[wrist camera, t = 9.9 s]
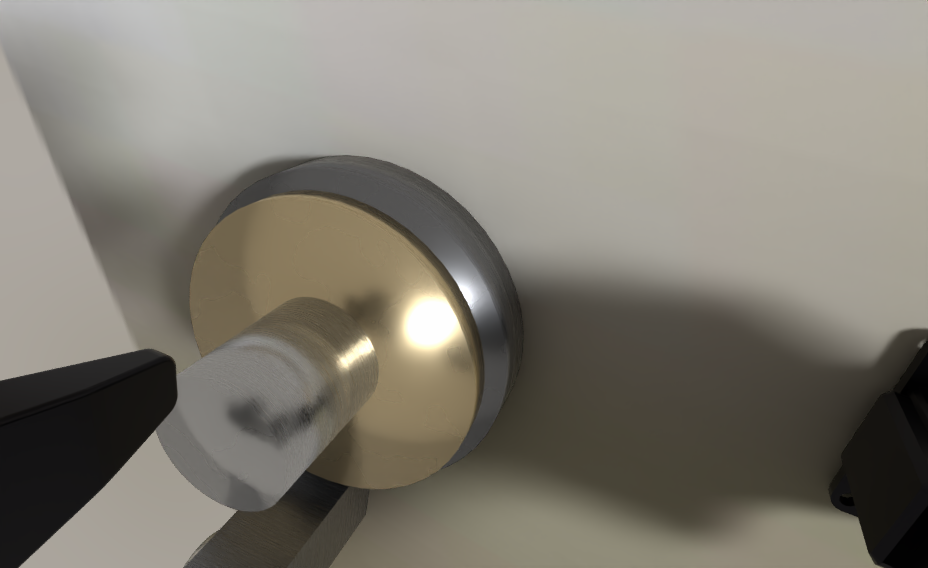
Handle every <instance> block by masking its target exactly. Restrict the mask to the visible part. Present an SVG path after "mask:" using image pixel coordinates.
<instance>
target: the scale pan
mask: <svg viewBox="0 0 928 568" xmlns="http://www.w3.org/2000/svg"><path fill="white" fill-rule="evenodd" d="M297 297H313V298H318V299H322V300H325V301H327V302H330V303H332V304H334V305H336V306H337V307H339V308H341V309H342V310H344V311H345V312H346V313H348V314H349V315H350V316H351V317H352V318H353V319H354V320H355V321H356V322H357V323H358V324H359V325H360V326H361V327H362V329H363V330H364V331H365V333H366V334H367V336H368V338H369V339H370V341H371V343H372V345H373V347H374V350H375V353H376V356H377V360H378V367H379V378H378V383H377V386H376V389H375V391H374V393H373V395H372V396H371V397H370V398H369V400H368V401H367V402H366V403H365V404H364V405H363V406H362V407H361V409H360V410H359V411H358V412H357V413H356V414H355V415H354V416H353V417H352V419H351V420H350V421H349V422H348V423H347V424H346V425H345V426H344V428H343V429H342V430H341V431H340V432H339V433H338V434H337V435H336V437H335V438H334V439H333V440H332V441H331V442H330V443H329V444H328V446H327V447H326V448H325V449H324V450H323V451H322V452H321V453H320V455H319V456H318V457H317V458H316V459H315V460H314V461H313V462H312V463H311V465H310V466H309V467H308V468H307V469H306V471H308V472H310V473H312V474H314V475H317V476H319V477H322V478H324V479H327V480H329V481H333V482H336V483H339V484H343V485H347V486H352V487H358V488H366V489H389V488H397V487H402V486H407V485H410V484H413V483H416V482H418V481H421V480H423V479H425V478H427V477H428V476H430V475H432V474H434V473H435V472H437V471H438V470H439V469H440V468H441V467H443V466H444V465H445V464H446V463H447V462H448V461H449V460H450V459H451V458H452V456H453V455H454V454H455V453H456V451H457V450H458V449H459V447H460V445H461V443H462V442H463V440H464V438H465V437H466V435H467V433H468V431H469V430H470V428H471V426H472V424H473V422H474V420H475V419H476V416H477V413H478V410H479V407H480V405H481V402H482V396H483V390H484V382H485V363H484V356H483V348H482V343H481V339H480V335H479V332H478V328H477V324H476V322H475V319H474V317H473V314H472V312H471V309H470V307H469V305H468V302H467V301H466V299H465V297H464V295H463V293H462V292H461V290H460V288H459V286H458V284H457V283H456V281H455V280H454V278H453V277H452V276H451V274H450V273H449V271H448V270H447V269H446V267H445V266H444V264H443V263H442V262H441V261H440V260H439V259H438V258H437V256H436V255H435V254H434V253H433V252H432V251H431V250H430V249H429V247H428V246H427V245H425V244H424V243H423V242H422V241H421V240H420V239H419V238H418V237H417V236H415V235H414V234H413V233H412V232H411V231H410V230H409V229H407V228H406V227H404V226H403V225H402V224H400V223H399V222H397V221H396V220H395V219H393V218H392V217H390V216H388V215H387V214H385V213H383V212H381V211H379V210H378V209H376V208H374V207H372V206H370V205H368V204H365V203H363V202H360V201H358V200H355V199H353V198H350V197H346V196H342V195H339V194H335V193H331V192H323V191H314V190H300V191H288V192H284V193H279V194H274V195H272V196H269V197H267V198H264V199H262V200H259V201H257V202H254V203H252V204H249V205H247V206H245V207H242V208H240V209H238V210H236V211H235V212H233V213H231V214H230V215H228V216H227V217H225V218H224V219H223V220H222V221H221V222H220V223H219V224H217V225H216V226H215V227H214V228H213V229H212V231H211V232H210V233H209V235H208V236H207V237H206V239H205V240H204V242H203V244H202V246H201V248H200V250H199V252H198V254H197V256H196V259H195V263H194V266H193V269H192V274H191V281H190V313H191V322H192V326H193V330H194V335H195V339H196V342H197V345H198V348H199V351H200V354H201V356H202V358H203V357H204V356H206V355H207V354H209V353H210V352H212V351H213V350H215V349H216V348H217V347H219V346H220V345H222V344H223V343H225V342H226V341H228V340H229V339H231V338H232V337H234V336H235V335H237V334H238V333H240V332H241V331H243V330H244V329H246V328H247V327H249V326H250V325H252V324H253V323H254V322H256V321H257V320H259V319H260V318H262V317H263V316H265V315H266V314H268V313H269V312H271V311H272V310H274V309H275V308H277V307H278V306H280V305H281V304H283V303H284V302H286V301H288V300H290V299H293V298H297Z"/></svg>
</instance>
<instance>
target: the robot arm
mask: <svg viewBox="0 0 928 568" xmlns="http://www.w3.org/2000/svg"><path fill="white" fill-rule="evenodd" d="M177 398H178V390H177V376H176V364H175V361H174V359H173V358H172V357H170V356H168V355H166V354H164V353H162V352H159V351H157V350H154V349H143V350H139V351H135V352H130V353H126V354H121V355H116V356H112V357H107V358H102V359H98V360H93V361H89V362H84V363H80V364H76V365H70V366H66V367H62V368H57V369H52V370H48V371H43V372H38V373H34V374H29V375H25V376H20V377H16V378H11V379H6V380H2V381H0V568H19V567H20V566H21V564H23V563H24V562H25V561H26V560H27V559H28V558H29V557H30V556H31V555H32V554H33V553H35V551H37V550H38V549H39V548H40V547H41V546H42V545H43V544H44V543H45V542H46V541H47V540H48V539H49V538H51V536H53V535H54V534H55V533H56V532H57V531H58V530H59V529H60V528H61V527H62V526H63V525H64V524H65V523H66V522H67V521H69V520H70V519H71V518H72V517H73V516H74V515H75V514H76V513H77V512H78V511H79V510H80V509H81V508H82V507H84V506H85V504H87V503H88V502H89V501H90V500H91V499H92V498H93V497H94V496H95V495H96V494H97V493H98V492H99V491H100V490H101V489H102V488H103V487H104V486H105V485H106V484H107V483H108V482H109V481H110V480H111V479H112V478H113V477H114V475H115V474H116V473H117V472H118V471H119V470H120V469H121V468H122V467H123V466H124V464H125V463H126V462H127V461H128V460H129V459H130V458H131V457H132V455H133V454H134V453H135V452H136V451H137V449H139V447H140V446H141V445H142V444H143V443H144V442H145V441H146V440H147V439H148V437H149V436H150V435H151V434H152V433H153V432H154V431H155V430H156V428H157V427H158V426H159V425H160V424H161V423H162V422H163V421H164V419H165V418H166V417H167V416H168V415H169V414H170V413H171V411H172V410H173V408H174V407H175V405H176V402H177ZM841 458H842V462H843V466H842V467H841V469H840V470H839V472H838V473H837V475H836V476H835V478H834V479H833V481H832V482H831V484H830V486H829V489H828V490H829V494H830V498H831V502H832V504H833V505H834V506H835V507H836V508H837V509H839V510H841V511H843V512H846V513H848V514H851V515H854V516H856V517H858V518H859V522H860V525H861V529H862V532H863V536H864V539H865V543H866V546H867V550H868V553H869V555H870V556H871V558H872V560H873V562H874V564H875V565H877V566H880V567H882V568H928V341H927V342H926V343H925V344H924V345H923V346H922V348H921V349H920V351H919V352H918V354H917V355H916V357H915V358H914V360H913V361H912V363H911V364H910V366H909V367H908V369H907V370H906V372H905V373H904V375H903V376H902V378H901V379H900V381H899V382H898V384H897V385H896V387H895V388H894V390H893V391H889V392H887V393H885V394H882V395H881V396H880V397H879V398H878V400H877V401H876V403H875V404H874V406H873V408H872V409H871V411H870V412H869V414H868V415H867V417H866V418H865V420H864V421H863V423H862V424H861V426H860V427H859V429H858V430H857V432H856V433H855V435H854V436H853V438H852V439H851V441H850V442H849V444H848V445H847V447H846V448H845V450H844V451H843V453H842V455H841ZM846 493H850V494H852V497H848V498H847V497H843V496H841V495H843V494H846Z"/></svg>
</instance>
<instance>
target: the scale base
mask: <svg viewBox="0 0 928 568" xmlns="http://www.w3.org/2000/svg"><path fill="white" fill-rule="evenodd" d="M300 190H314V191H323V192H331V193H335V194H339V195H342V196H346V197H350V198H353V199H355V200H358V201H360V202H363V203H365V204H368V205H370V206H372V207H374V208H376V209H378V210H379V211H381V212H383V213H385V214H387V215H388V216H390V217H392V218H393V219H395V220H396V221H397V222H399V223H400V224H402V225H403V226H404V227H406V228H407V229H409V230H410V231H411V232H412V233H413V234H414V235H415V236H417V237H418V238H419V239H420V240H421V241H422V242H423V243H424V244H425V245H427V246H428V247H429V249H430V250H431V251H432V252H433V253H434V254H435V255H436V256H437V258H438V259H439V260H440V261H441V262H442V263H443V264H444V266H445V267H446V269H447V270H448V271H449V273H450V274H451V276H452V277H453V278H454V280H455V281H456V283H457V284H458V286H459V288H460V290H461V292H462V293H463V295H464V297H465V299H466V301H467V302H468V305H469V307H470V309H471V312H472V314H473V317H474V319H475V322H476V324H477V328H478V332H479V335H480V339H481V343H482V348H483V356H484V363H485V382H484V390H483V396H482V402H481V405H480V407H479V410H478V413H477V416H476V419H475V420H474V422H473V424H472V426H471V428H470V430H469V431H468V433H467V435H466V437H465V438H464V440H463V442H462V443H461V445H460V447H459V449H458V450H457V451H456V453H455V454H454V455H453V456H452V458H451V459H450V460H449V461H448V462H447V463H446V464H445V465H444V466H443V467H441V468H440V469H442V468H445V467H448V466H450V465H452V464H453V463H455V462H457V461H458V460H460V459H462V458H464V457H465V456H466V455H467V454H468V453H469V452H471V451H472V450H473V449H474V448H475V447H476V446H477V445H478V444H479V443H480V442H481V440H482V439H483V438H484V437H485V436H486V434H487V433H488V431H489V430H490V428H491V426H492V424H493V422H494V421H495V419H496V417H497V415H498V413H499V412H500V410H501V408H502V406H503V404H504V402H505V400H506V398H507V397H508V395H509V393H510V391H511V389H512V387H513V385H514V382H515V379H516V377H517V374H518V371H519V367H520V361H521V356H522V349H523V326H522V316H521V309H520V305H519V301H518V297H517V293H516V289H515V286H514V284H513V281H512V279H511V276H510V273H509V271H508V268H507V267H506V265H505V263H504V261H503V259H502V257H501V255H500V253H499V251H498V250H497V248H496V246H495V245H494V244H493V242H492V241H491V239H490V238H489V236H488V235H487V233H486V232H485V231H484V229H483V228H482V227H481V226H480V224H479V223H478V222H477V221H476V220H475V219H474V218H473V217H472V215H471V214H470V213H469V212H468V211H467V210H466V209H465V208H464V207H463V206H462V205H460V204H459V203H458V202H457V201H456V200H455V199H454V198H453V197H452V196H450V195H449V194H448V193H446V192H445V191H444V190H442V189H441V188H439V187H438V186H436V185H435V184H434V183H432V182H431V181H429V180H427V179H425V178H423V177H422V176H420V175H418V174H416V173H414V172H412V171H410V170H408V169H405V168H403V167H400V166H398V165H395V164H392V163H390V162H386V161H382V160H377V159H373V158H369V157H359V156H333V157H325V158H321V159H316V160H312V161H309V162H306V163H303V164H301V165H298V166H295V167H292V168H290V169H287V170H284V171H282V172H279V173H276V174H274V175H271V176H269V177H267V178H264V179H262V180H260V181H257V182H256V183H254V184H253V185H251V186H250V187H248V188H247V189H245V190H244V191H242V192H241V193H240V194H239V195H238V196H237V197H236V198H235V199H234V200H233V201H232V202H231V203H230V204H229V206H228V207H227V208H226V210H225V211H224V213H223V214H222V215H221V217H220V219H219V221H218V223H217V224H219V223H220V222H221V221H222V220H223V219H224V218H225V217H227V216H228V215H230V214H231V213H233V212H235V211H236V210H238V209H240V208H242V207H245V206H247V205H249V204H252V203H254V202H257V201H259V200H262V199H264V198H267V197H269V196H272V195H274V194H279V193H284V192H288V191H300ZM440 469H439V470H440ZM368 494H369V489H366V488H358V487H352V486H347V485H343V484H339V483H336V482H333V481H329V480H327V479H324V478H322V477H319V476H317V475H314V474H312V473H310V472H308V471H306V470H305V471H304V472H303V474H302V475H301V476H300V477H299V478H298V479H297V480H296V481H295V483H294V484H293V485H292V486H291V487H290V488H289V489H288V490H287V492H286V493H285V494H284V495H283V496H282V497H281V498H280V499H279V500H278V502H277V503H276V504H275V505H273V506H272V507H270V508H268V509H266V510H262V511H256V512H248V511H241V510H238V511H237V512H236V513H235V514H234V515H233V516H232V517H231V518H230V519H229V520H228V521H227V523H226V524H225V525H224V526H223V527H222V528H221V529H220V530H218V531H216V532H215V533H213V534H212V535H211V536H209V537H208V538H207V539H206V540H205V541H204V542H203V543H202V544H201V545H200V546H199V547H198V548H197V549H196V551H195V552H194V553H193V554H192V556H191V557H190V558H189V560H188V561H187V563H186V564H185V566H184V567H183V568H329V567H330V565H331V564H332V562H333V561H334V560H335V558H336V557H337V555H338V554H339V552H340V551H341V549H342V548H343V547H344V545H345V544H346V542H347V541H348V539H349V538H350V536H351V535H352V534H353V532H354V531H355V529H356V528H357V526H358V525H359V523H360V522H361V521H362V519H363V518H364V516H365V515H366V508H367V501H368Z"/></svg>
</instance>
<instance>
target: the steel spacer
mask: <svg viewBox="0 0 928 568" xmlns="http://www.w3.org/2000/svg"><path fill="white" fill-rule="evenodd" d="M176 376H177V390H178V398H177V402H176V405H175V407H174V408H173V410H172V411H171V413H170V414H169V415H168V416H167V417H166V418H165V419H164V421H163V422H162V423H161V424H160V425H159V426H158V427H157V428H156V432H157V435H158V438H159V440H160V442H161V444H162V446H163V448H164V450H165V452H166V454H167V455H168V457H169V458H170V460H171V461H172V463H173V464H174V465H175V467H176V468H177V469H178V470H179V472H180V473H181V474H182V475H183V476H184V477H185V478H186V479H187V480H188V481H189V482H190V483H191V484H192V485H193V486H195V487H196V488H197V489H198V490H200V491H201V492H202V493H203V494H205V495H206V496H208V497H210V498H211V499H213V500H215V501H216V502H218V503H220V504H222V505H225V506H227V507H230V508H233V509H236V510H241V511H248V512H256V511H262V510H266V509H268V508H270V507H272V506H273V505H275V504H276V503H277V502H278V500H279V499H280V498H281V497H282V496H283V495H284V494H285V493H286V492H287V490H288V489H289V488H290V487H291V486H292V485H293V484H294V483H295V481H296V480H297V479H298V478H299V477H300V476H301V475H302V474H303V472H304V471H305V470H306V469H307V468H308V467H309V466H310V465H311V463H312V462H313V461H314V460H315V459H316V458H317V457H318V456H319V455H320V453H321V452H322V451H323V450H324V449H325V448H326V447H327V446H328V444H329V443H330V442H331V441H332V440H333V439H334V438H335V437H336V435H337V434H338V433H339V432H340V431H341V430H342V429H343V428H344V426H345V425H346V424H347V423H348V422H349V421H350V420H351V419H352V417H353V416H354V415H355V414H356V413H357V412H358V411H359V410H360V409H361V407H362V406H363V405H364V404H365V403H366V402H367V401H368V400H369V398H370V397H371V396H372V395H373V393H374V391H375V389H376V386H377V383H378V378H379V367H378V360H377V356H376V353H375V350H374V347H373V345H372V343H371V341H370V339H369V338H368V336H367V334H366V333H365V331H364V330H363V329H362V327H361V326H360V325H359V324H358V323H357V322H356V321H355V320H354V319H353V318H352V317H351V316H350V315H349V314H348V313H346V312H345V311H344V310H342V309H341V308H339V307H337V306H336V305H334V304H332V303H330V302H327V301H325V300H322V299H318V298H313V297H297V298H293V299H290V300H288V301H286V302H284V303H283V304H281V305H280V306H278V307H277V308H275V309H274V310H272V311H271V312H269V313H268V314H266V315H265V316H263V317H262V318H260V319H259V320H257V321H256V322H254V323H253V324H252V325H250V326H249V327H247V328H246V329H244V330H243V331H241V332H240V333H238V334H237V335H235V336H234V337H232V338H231V339H229V340H228V341H226V342H225V343H223V344H222V345H220V346H219V347H217V348H216V349H215V350H213V351H212V352H210V353H209V354H207V355H206V356H204V357H203V358H201V359H200V360H198V361H197V362H195V363H194V364H192V365H191V366H189V367H188V368H186V369H185V370H183V371H182V372H180V373H179V374H178V375H176Z"/></svg>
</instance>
